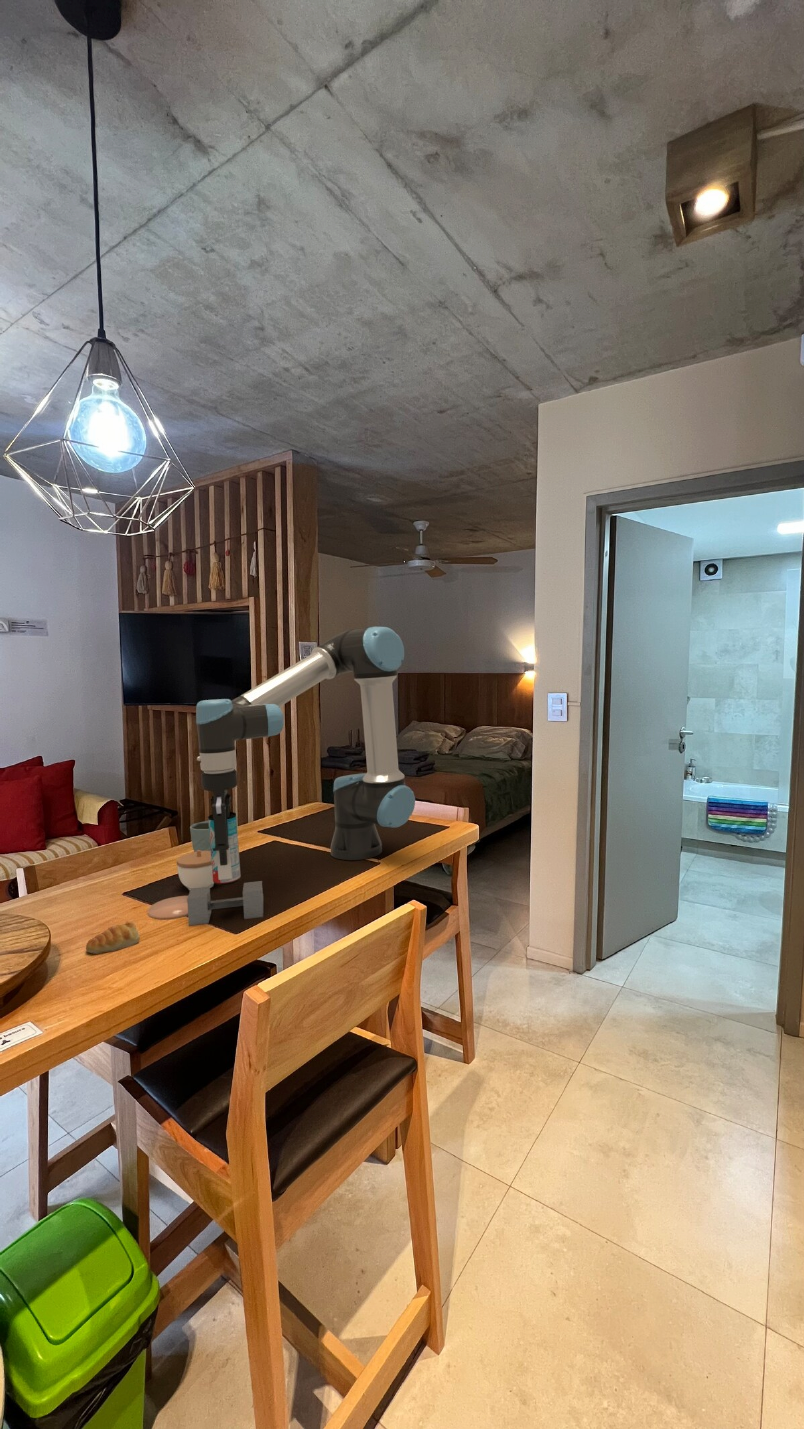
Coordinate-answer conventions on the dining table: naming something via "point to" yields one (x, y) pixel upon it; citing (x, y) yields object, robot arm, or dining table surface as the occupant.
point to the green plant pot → (200, 836)
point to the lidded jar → (195, 869)
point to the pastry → (114, 939)
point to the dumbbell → (224, 903)
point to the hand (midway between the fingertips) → (226, 873)
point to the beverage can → (233, 850)
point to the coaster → (169, 908)
